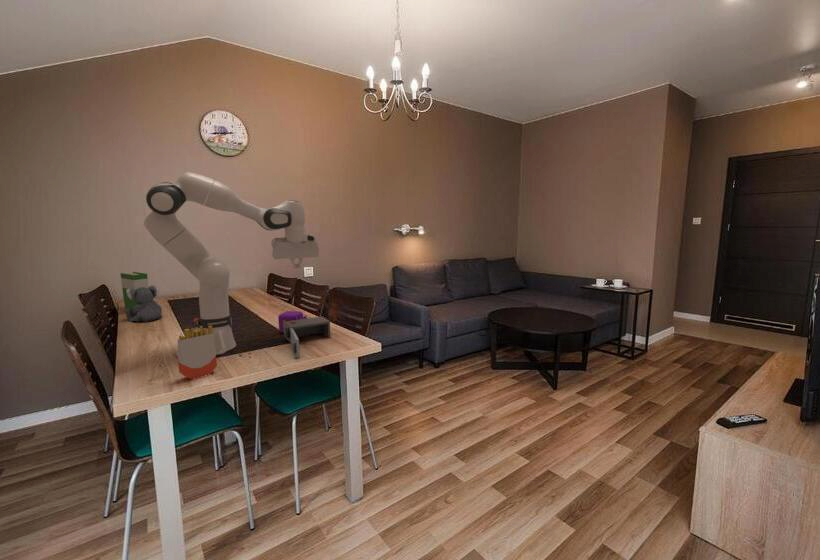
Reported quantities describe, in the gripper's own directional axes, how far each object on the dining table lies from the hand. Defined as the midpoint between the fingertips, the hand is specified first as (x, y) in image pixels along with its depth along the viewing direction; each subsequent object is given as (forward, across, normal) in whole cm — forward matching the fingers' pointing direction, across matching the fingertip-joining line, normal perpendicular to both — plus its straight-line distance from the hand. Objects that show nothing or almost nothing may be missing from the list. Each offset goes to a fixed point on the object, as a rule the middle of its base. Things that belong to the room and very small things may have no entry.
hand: (296, 268), depth 166 cm
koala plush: (+34, -64, +86) cm, 112 cm away
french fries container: (+34, -42, -22) cm, 58 cm away
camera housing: (+33, +4, 0) cm, 33 cm away
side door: (+33, -7, -15) cm, 37 cm away
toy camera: (+34, +1, +15) cm, 37 cm away
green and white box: (+34, -70, +112) cm, 136 cm away
